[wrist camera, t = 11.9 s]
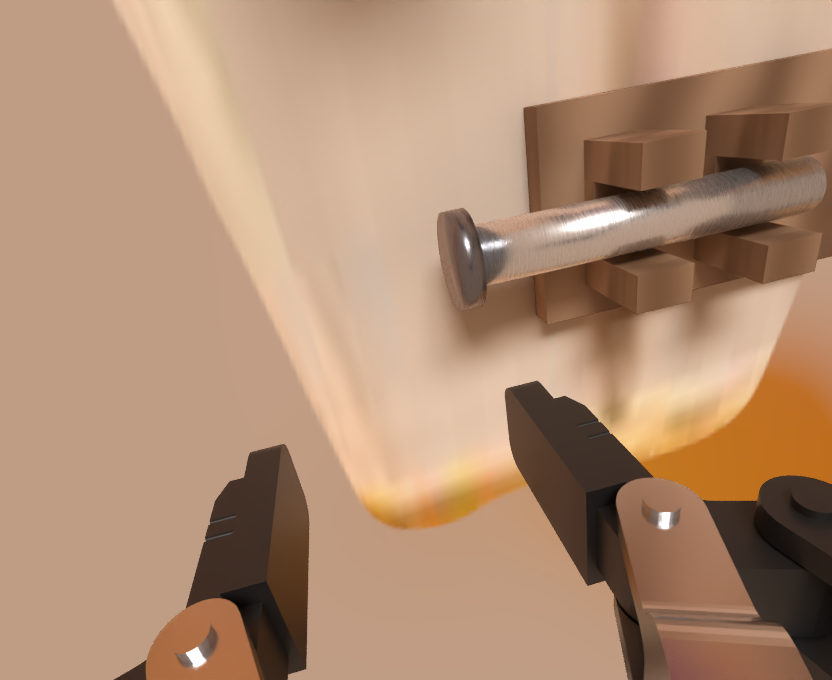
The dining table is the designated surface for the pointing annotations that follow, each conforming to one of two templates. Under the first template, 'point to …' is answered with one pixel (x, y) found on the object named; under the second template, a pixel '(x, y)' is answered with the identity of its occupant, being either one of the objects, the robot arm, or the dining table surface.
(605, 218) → the shaft
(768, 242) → the stand
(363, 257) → the dining table surface
